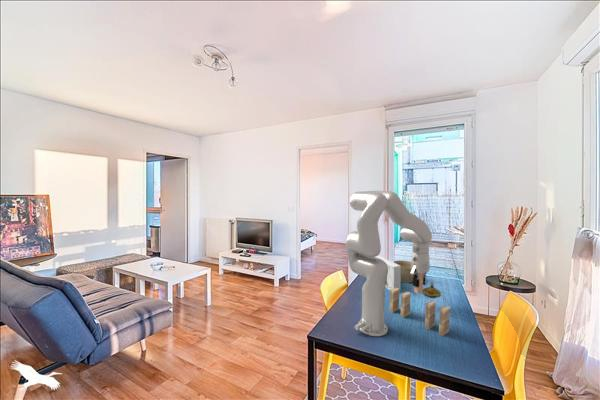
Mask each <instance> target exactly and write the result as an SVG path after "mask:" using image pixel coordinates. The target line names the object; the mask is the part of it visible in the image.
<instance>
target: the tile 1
mask: <svg viewBox="0 0 600 400" xmlns="http://www.w3.org/2000/svg"><path fill="white" fill-rule="evenodd" d="M411 293H412V292H409V291H405V292H403V293H401V294H400V317H402V318H407V317H408V316H410V315H411V314H410V313H411Z"/></svg>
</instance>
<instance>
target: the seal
mask: <svg viewBox="0 0 600 400" xmlns="http://www.w3.org/2000/svg"><path fill="white" fill-rule="evenodd" d="M421 293H422V294H423V295H425V296H426V297H427V298H439V297H440V296H441V292H440V289H439V290H438V289H437V288H435V287H434V283H433V282H431V283H430V287H425V288H424V287H423V291H422V292H421Z"/></svg>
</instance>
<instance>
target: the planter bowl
mask: <svg viewBox="0 0 600 400" xmlns="http://www.w3.org/2000/svg"><path fill="white" fill-rule="evenodd" d="M393 262H394V263H396V264H398V265H400V266H401V282H402V283H407V284H408V283H409V284H411V283H413V278H412V275H411V262H412V261H408V260H394V261H393ZM401 282H400V283H401Z"/></svg>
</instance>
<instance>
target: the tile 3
mask: <svg viewBox="0 0 600 400" xmlns="http://www.w3.org/2000/svg"><path fill="white" fill-rule="evenodd" d="M436 303H437V302H436V301H433V300H430V301H428V302H426V303H425V311H424V312H425V314H424V315H425V317H424V321H425V322H424V328H425V329H427V330H431V329H432V328H433V327H435V325H436Z"/></svg>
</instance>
